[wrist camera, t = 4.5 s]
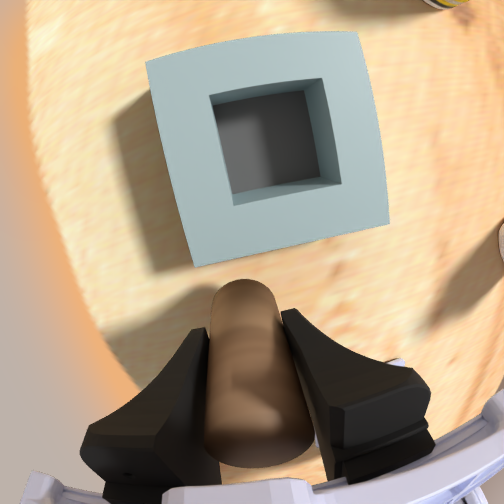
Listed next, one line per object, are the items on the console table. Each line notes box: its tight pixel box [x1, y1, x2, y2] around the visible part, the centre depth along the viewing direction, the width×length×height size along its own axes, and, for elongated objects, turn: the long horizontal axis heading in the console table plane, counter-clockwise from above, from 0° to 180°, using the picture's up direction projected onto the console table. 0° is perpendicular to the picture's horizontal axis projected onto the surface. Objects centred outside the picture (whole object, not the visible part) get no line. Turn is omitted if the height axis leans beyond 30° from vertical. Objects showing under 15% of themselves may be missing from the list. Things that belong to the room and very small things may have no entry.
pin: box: [204, 279, 315, 468], centre depth 11 cm, size 3×3×8 cm
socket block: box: [145, 31, 390, 267], centre depth 13 cm, size 9×9×4 cm
